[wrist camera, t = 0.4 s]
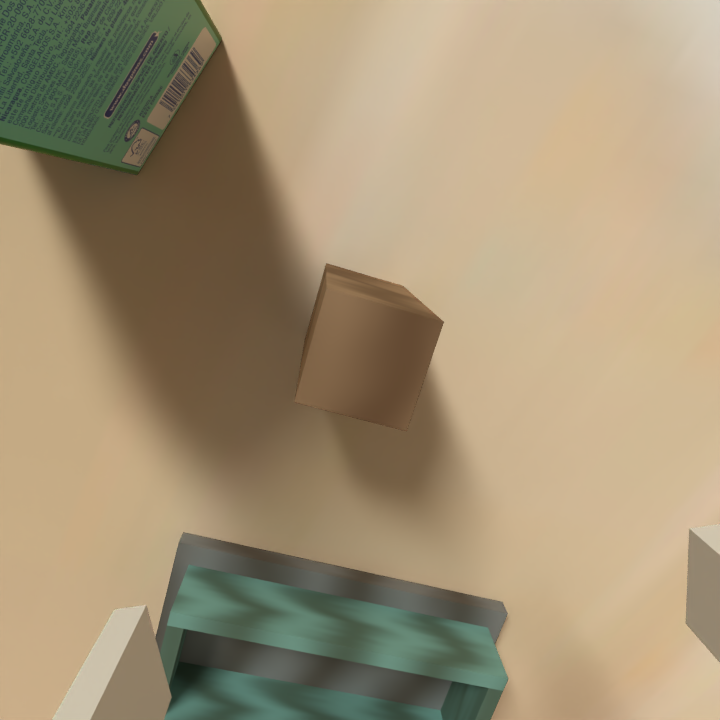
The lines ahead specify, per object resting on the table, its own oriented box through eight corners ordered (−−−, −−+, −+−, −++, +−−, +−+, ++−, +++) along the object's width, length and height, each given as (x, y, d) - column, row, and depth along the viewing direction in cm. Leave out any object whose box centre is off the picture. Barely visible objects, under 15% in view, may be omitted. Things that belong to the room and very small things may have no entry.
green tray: (149, 670, 40) (121, 743, 34) (183, 532, 37) (158, 587, 31) (450, 725, 43) (469, 800, 37) (502, 602, 40) (530, 663, 35)
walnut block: (304, 339, 34) (294, 402, 22) (326, 263, 33) (326, 288, 21) (379, 360, 35) (406, 431, 23) (402, 286, 33) (443, 322, 22)
